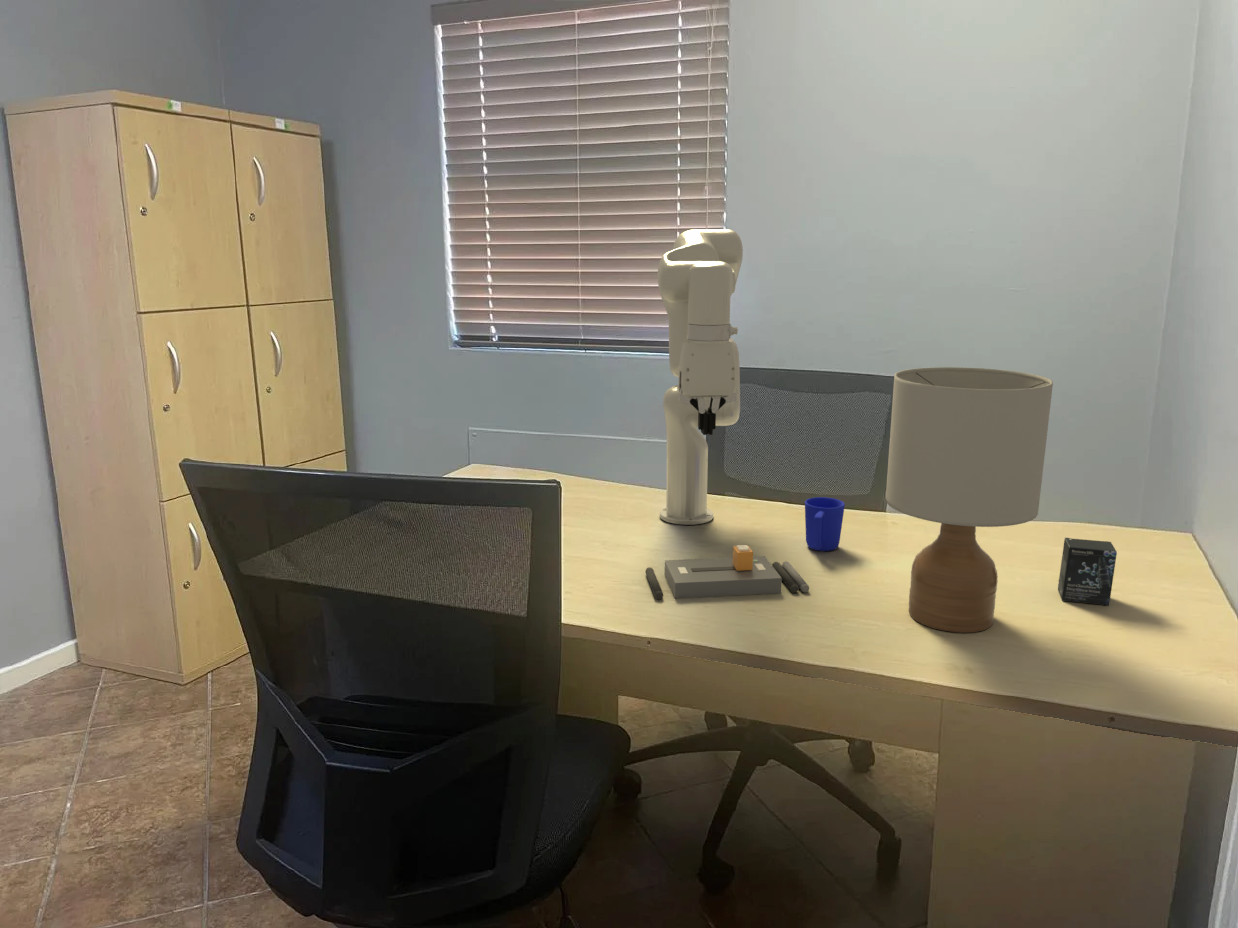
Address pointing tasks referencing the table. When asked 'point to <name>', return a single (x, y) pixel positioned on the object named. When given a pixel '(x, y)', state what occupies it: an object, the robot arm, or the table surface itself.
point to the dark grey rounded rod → (654, 583)
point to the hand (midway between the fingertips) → (706, 433)
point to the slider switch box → (720, 578)
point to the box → (1087, 571)
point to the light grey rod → (795, 576)
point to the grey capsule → (786, 577)
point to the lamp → (964, 478)
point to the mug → (823, 522)
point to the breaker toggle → (742, 557)
